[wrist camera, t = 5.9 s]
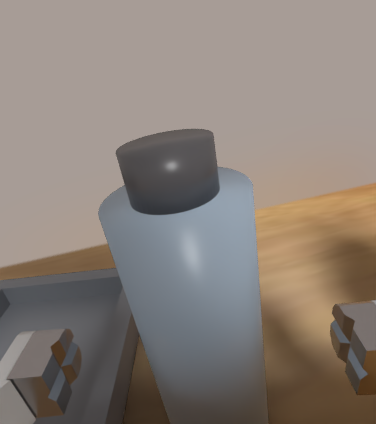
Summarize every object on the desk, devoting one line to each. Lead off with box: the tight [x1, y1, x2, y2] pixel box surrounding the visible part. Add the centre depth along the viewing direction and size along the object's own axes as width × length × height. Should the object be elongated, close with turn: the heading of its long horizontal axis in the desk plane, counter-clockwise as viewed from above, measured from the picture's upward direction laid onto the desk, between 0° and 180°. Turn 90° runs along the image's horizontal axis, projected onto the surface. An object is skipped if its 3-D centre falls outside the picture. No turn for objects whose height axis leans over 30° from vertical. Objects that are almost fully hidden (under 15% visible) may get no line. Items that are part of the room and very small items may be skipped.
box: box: [0, 268, 139, 424], centre depth 16 cm, size 11×12×2 cm
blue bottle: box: [98, 129, 268, 424], centre depth 11 cm, size 4×4×12 cm
